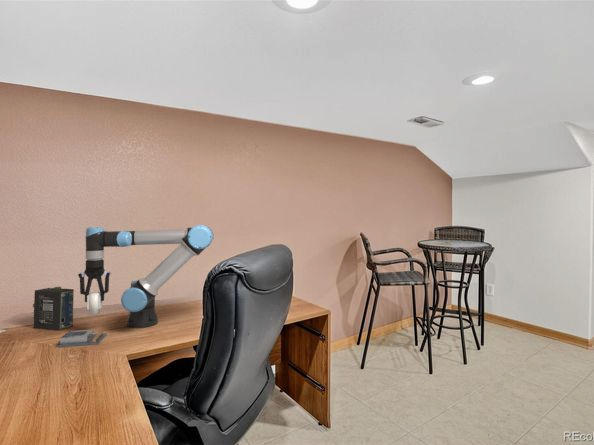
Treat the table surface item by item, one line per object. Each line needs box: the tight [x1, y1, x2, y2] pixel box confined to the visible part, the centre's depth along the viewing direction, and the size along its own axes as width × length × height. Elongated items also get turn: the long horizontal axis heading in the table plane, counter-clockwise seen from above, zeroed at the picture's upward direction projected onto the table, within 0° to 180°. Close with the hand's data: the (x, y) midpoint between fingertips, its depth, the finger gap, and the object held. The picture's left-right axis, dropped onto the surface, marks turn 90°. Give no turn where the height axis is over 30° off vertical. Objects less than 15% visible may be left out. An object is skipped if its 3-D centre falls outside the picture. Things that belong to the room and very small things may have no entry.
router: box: [32, 286, 75, 331], centre depth 170 cm, size 8×18×20 cm, turn 78°
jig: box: [55, 329, 108, 348], centre depth 150 cm, size 16×13×4 cm
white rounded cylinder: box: [88, 291, 101, 316], centre depth 161 cm, size 4×4×10 cm
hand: (94, 308), depth 161 cm, fingers closed on white rounded cylinder, 4 cm apart
